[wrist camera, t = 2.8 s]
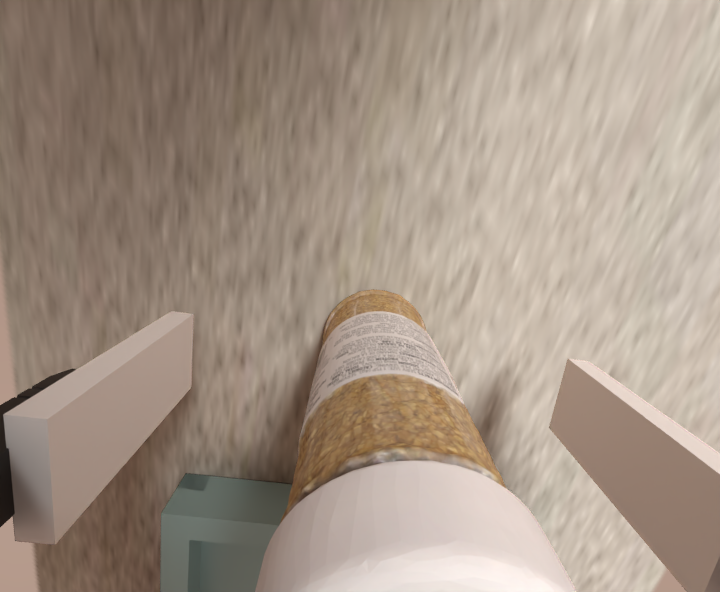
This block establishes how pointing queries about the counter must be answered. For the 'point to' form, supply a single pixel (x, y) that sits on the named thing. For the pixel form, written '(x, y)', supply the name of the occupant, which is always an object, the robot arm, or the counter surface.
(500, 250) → the counter surface
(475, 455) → the sprinkles bottle
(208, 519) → the tray
